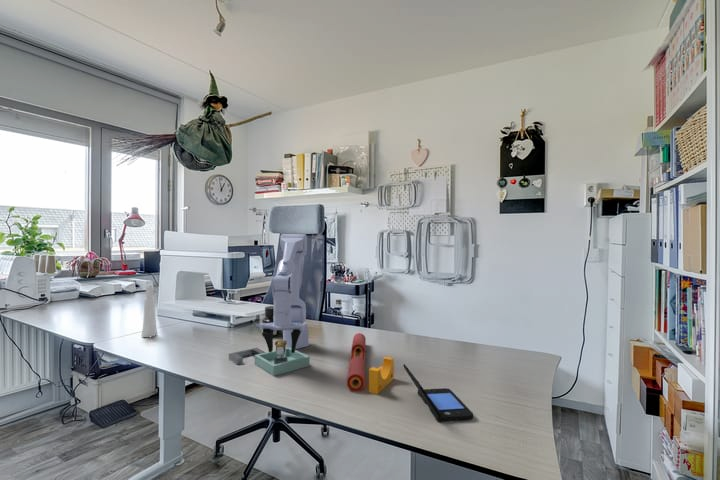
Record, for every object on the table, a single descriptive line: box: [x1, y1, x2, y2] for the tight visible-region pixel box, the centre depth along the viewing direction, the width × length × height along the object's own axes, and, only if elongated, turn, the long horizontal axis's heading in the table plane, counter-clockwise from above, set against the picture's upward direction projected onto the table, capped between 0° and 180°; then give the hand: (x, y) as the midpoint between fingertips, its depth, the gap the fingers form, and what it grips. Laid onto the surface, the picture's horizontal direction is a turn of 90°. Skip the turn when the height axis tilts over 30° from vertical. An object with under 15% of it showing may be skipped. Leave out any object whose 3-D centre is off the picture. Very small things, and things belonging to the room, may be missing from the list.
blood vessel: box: [346, 332, 367, 391], centre depth 117 cm, size 42×5×5 cm, turn 179°
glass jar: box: [274, 339, 288, 364], centre depth 115 cm, size 4×4×7 cm
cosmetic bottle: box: [140, 283, 158, 338], centre depth 148 cm, size 6×6×22 cm
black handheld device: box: [402, 363, 474, 423], centre depth 88 cm, size 16×14×9 cm
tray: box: [254, 347, 311, 377], centre depth 115 cm, size 13×13×3 cm
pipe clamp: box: [368, 356, 395, 395], centre depth 101 cm, size 12×4×6 cm, turn 153°
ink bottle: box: [261, 305, 283, 338], centre depth 151 cm, size 10×9×12 cm
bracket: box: [228, 347, 266, 365], centre depth 122 cm, size 10×7×2 cm
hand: (282, 351), depth 115 cm, fingers open, 7 cm apart
